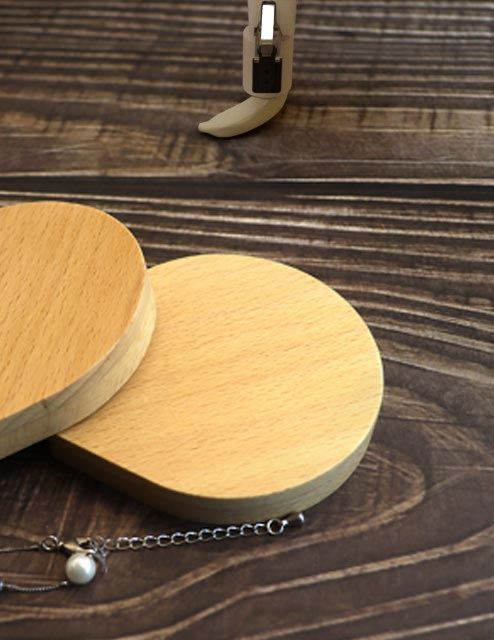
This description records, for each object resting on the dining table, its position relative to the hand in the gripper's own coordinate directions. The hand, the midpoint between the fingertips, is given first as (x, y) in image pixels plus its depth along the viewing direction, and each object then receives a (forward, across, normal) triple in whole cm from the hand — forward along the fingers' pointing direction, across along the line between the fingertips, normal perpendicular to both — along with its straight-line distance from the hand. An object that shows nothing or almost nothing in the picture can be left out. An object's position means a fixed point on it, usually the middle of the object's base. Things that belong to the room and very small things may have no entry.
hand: (268, 71), depth 116 cm
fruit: (+5, +1, +2) cm, 6 cm away
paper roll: (+2, 0, 0) cm, 2 cm away
